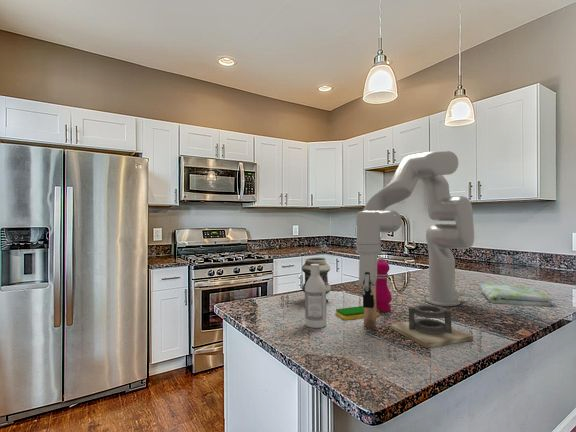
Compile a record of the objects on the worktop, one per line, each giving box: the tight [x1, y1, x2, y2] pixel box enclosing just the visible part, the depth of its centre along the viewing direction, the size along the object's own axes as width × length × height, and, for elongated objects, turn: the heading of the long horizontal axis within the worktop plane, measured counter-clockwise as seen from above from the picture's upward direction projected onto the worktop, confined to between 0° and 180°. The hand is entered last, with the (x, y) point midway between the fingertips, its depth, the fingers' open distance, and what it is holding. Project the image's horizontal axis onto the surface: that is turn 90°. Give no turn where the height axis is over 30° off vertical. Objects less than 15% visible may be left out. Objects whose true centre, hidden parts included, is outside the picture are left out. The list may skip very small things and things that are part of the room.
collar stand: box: [390, 304, 474, 349], centre depth 97 cm, size 16×16×8 cm
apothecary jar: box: [301, 257, 332, 304], centre depth 136 cm, size 12×12×18 cm
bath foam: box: [304, 264, 327, 329], centre depth 107 cm, size 7×7×20 cm
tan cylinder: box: [362, 283, 378, 329], centre depth 105 cm, size 4×4×16 cm
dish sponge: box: [335, 305, 380, 321], centre depth 117 cm, size 7×14×2 cm, turn 108°
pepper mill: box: [376, 256, 393, 312], centre depth 123 cm, size 7×7×20 cm
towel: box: [479, 282, 553, 307], centre depth 134 cm, size 18×21×5 cm
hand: (369, 304), depth 105 cm, fingers open, 6 cm apart
